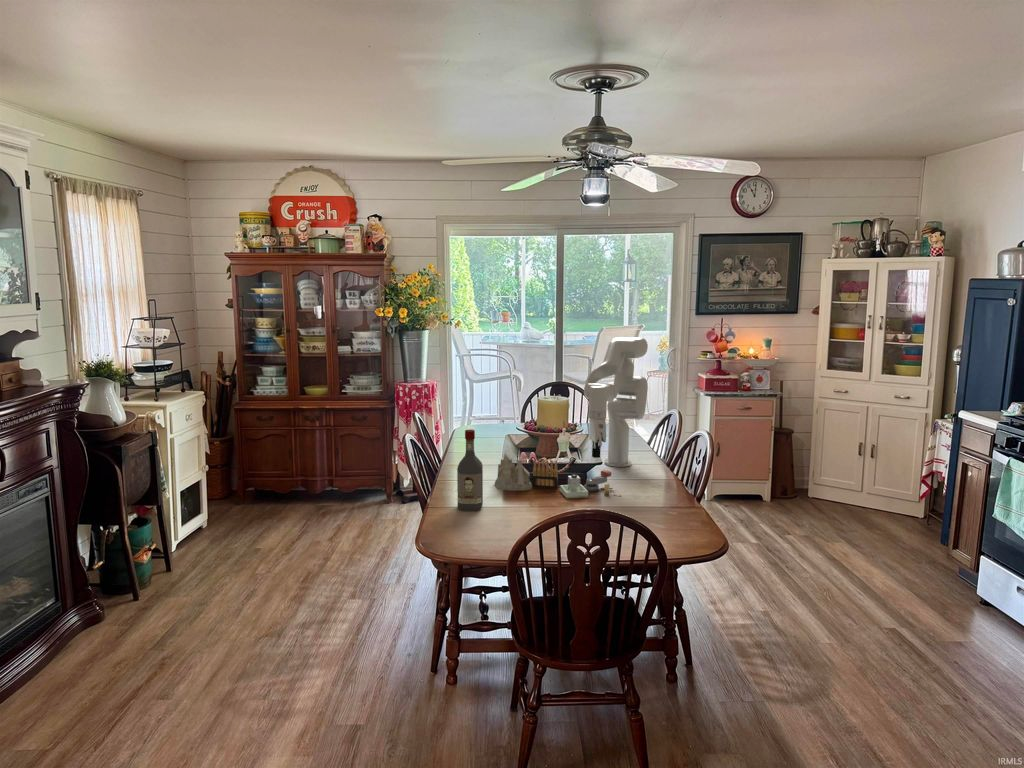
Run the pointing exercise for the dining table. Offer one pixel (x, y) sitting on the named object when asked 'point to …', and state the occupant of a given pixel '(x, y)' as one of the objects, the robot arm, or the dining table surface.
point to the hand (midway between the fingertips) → (596, 457)
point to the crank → (599, 479)
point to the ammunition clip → (545, 475)
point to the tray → (581, 493)
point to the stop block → (573, 483)
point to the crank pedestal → (596, 489)
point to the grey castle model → (512, 476)
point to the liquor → (470, 477)
